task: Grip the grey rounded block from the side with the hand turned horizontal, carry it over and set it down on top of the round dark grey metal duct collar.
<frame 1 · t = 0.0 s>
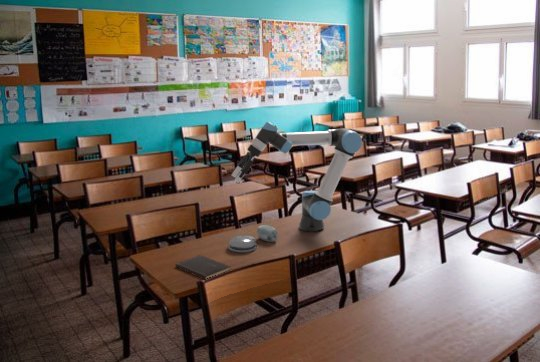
hand: (234, 179, 286), 36 cm above the table, fingers open, 13 cm apart
grey rounded block: (267, 240, 295), on the table
hardcover book: (202, 269, 256), on the table
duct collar: (242, 247, 284), on the table
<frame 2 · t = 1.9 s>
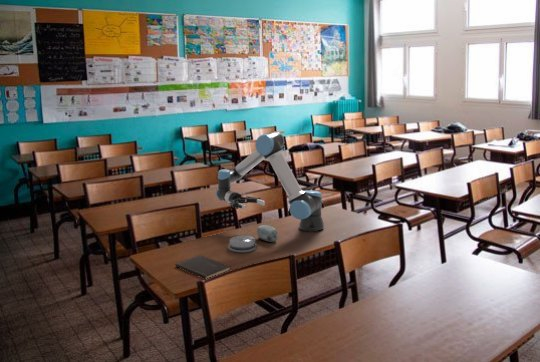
hand: (255, 205, 299), 18 cm above the table, fingers open, 13 cm apart
nothing on the table moved.
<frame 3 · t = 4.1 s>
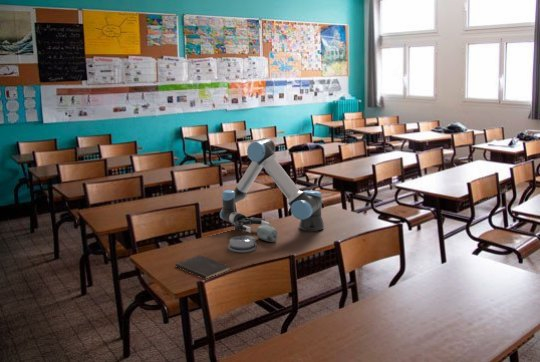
hand: (259, 227, 298), 6 cm above the table, fingers open, 13 cm apart
nothing on the table moved.
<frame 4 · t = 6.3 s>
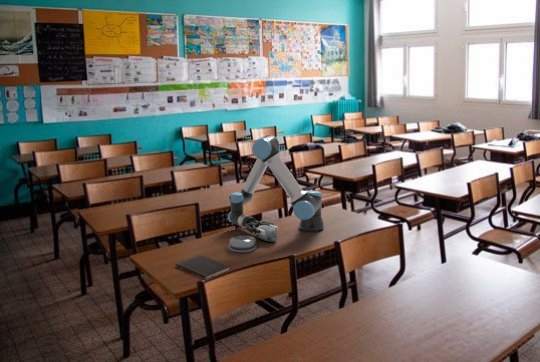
hand: (271, 231, 291), 6 cm above the table, fingers closed on grey rounded block, 9 cm apart
grey rounded block: (267, 240, 295), on the table, touching gripper
everything else where it was.
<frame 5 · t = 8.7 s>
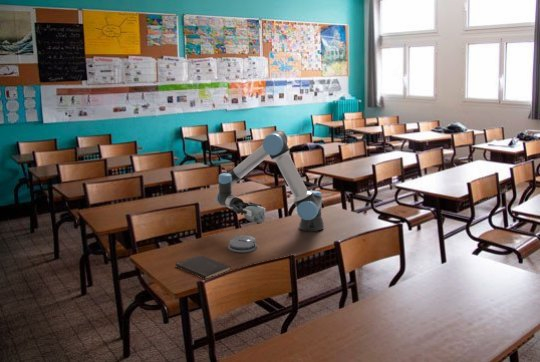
hand: (257, 212, 284), 19 cm above the table, fingers closed on grey rounded block, 9 cm apart
grey rounded block: (254, 221, 288), point 12 cm above the table, touching gripper
everything else where it was.
when the fingers open (12 cm above the table, at t = 11.6 s): grey rounded block drops 1 cm, resting on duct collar.
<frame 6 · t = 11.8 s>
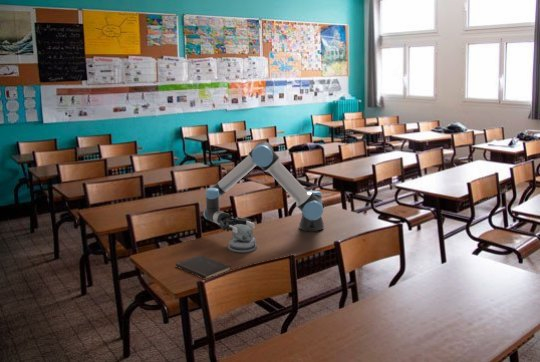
hand: (245, 228, 278), 12 cm above the table, fingers open, 11 cm apart
grey rounded block: (242, 240, 283), point 4 cm above the table, touching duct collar
everything else where it was.
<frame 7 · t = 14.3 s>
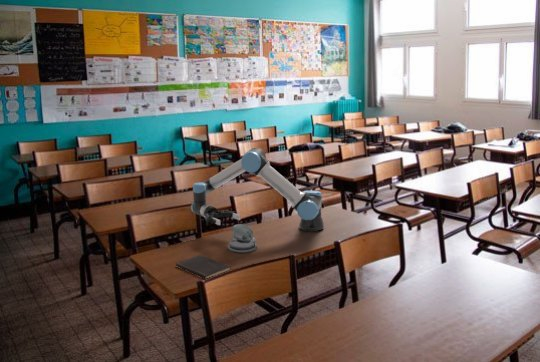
hand: (230, 220, 290), 13 cm above the table, fingers open, 13 cm apart
nothing on the table moved.
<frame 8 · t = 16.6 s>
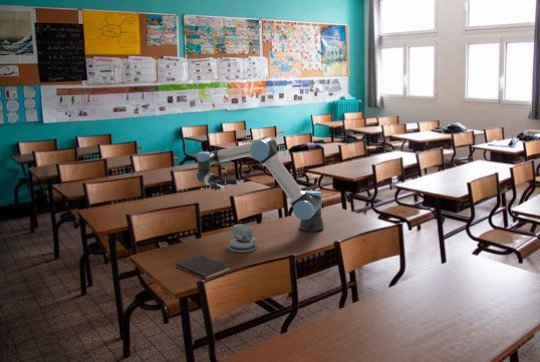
hand: (234, 186, 293), 30 cm above the table, fingers open, 13 cm apart
nothing on the table moved.
at the end: grey rounded block inside the target area on the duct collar (0.2 cm from its centre), point 4.4 cm above the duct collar's base; grey rounded block touching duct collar; the gripper is holding nothing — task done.
